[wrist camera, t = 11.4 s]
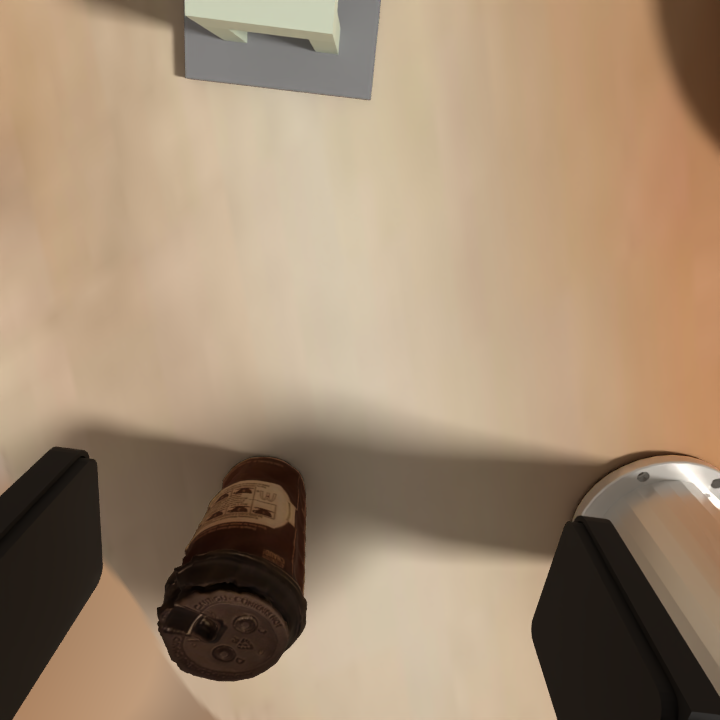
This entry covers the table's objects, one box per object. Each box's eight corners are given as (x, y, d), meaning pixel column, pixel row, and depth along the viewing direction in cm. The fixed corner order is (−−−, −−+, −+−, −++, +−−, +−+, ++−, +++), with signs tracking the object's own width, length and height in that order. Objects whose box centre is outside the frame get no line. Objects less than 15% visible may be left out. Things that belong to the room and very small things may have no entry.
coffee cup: (187, 458, 40) (113, 601, 28) (292, 424, 38) (262, 558, 27) (238, 545, 43) (191, 707, 31) (336, 516, 42) (326, 673, 30)
